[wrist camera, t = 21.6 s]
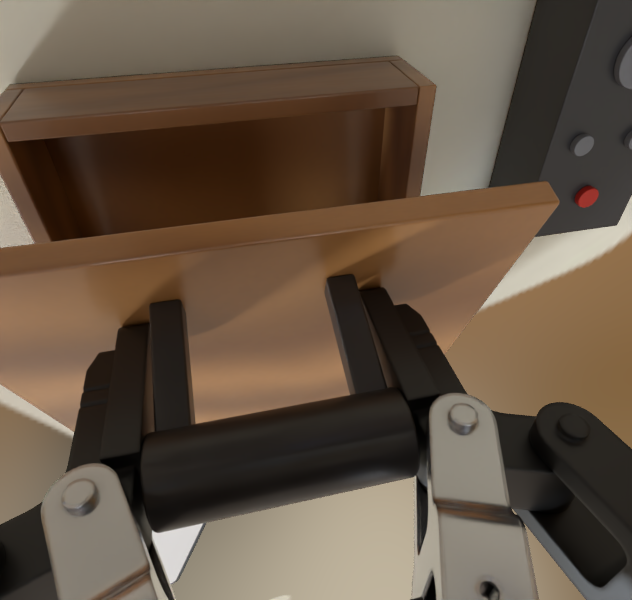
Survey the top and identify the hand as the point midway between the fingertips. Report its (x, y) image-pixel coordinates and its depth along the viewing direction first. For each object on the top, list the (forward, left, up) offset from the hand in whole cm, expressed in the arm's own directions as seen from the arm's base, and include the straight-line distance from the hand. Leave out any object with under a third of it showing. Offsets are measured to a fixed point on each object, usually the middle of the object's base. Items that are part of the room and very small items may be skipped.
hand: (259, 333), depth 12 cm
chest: (+5, -1, -10) cm, 11 cm away
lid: (+5, -1, -3) cm, 6 cm away
